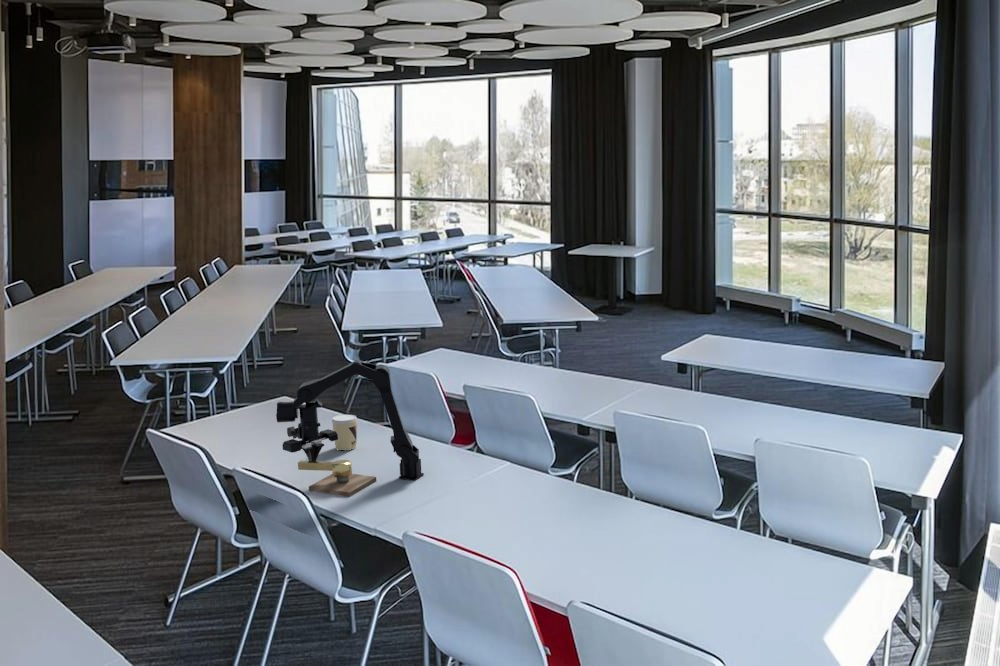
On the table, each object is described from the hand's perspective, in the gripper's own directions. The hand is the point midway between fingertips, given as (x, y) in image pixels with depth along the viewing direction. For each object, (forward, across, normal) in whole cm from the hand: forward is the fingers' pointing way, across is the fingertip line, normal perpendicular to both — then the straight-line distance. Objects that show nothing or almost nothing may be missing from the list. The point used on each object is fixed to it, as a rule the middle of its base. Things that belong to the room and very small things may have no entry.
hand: (312, 465), depth 310 cm
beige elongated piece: (+2, -1, +6) cm, 6 cm away
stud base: (+6, -4, +11) cm, 13 cm away
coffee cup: (+6, -30, -23) cm, 38 cm away
